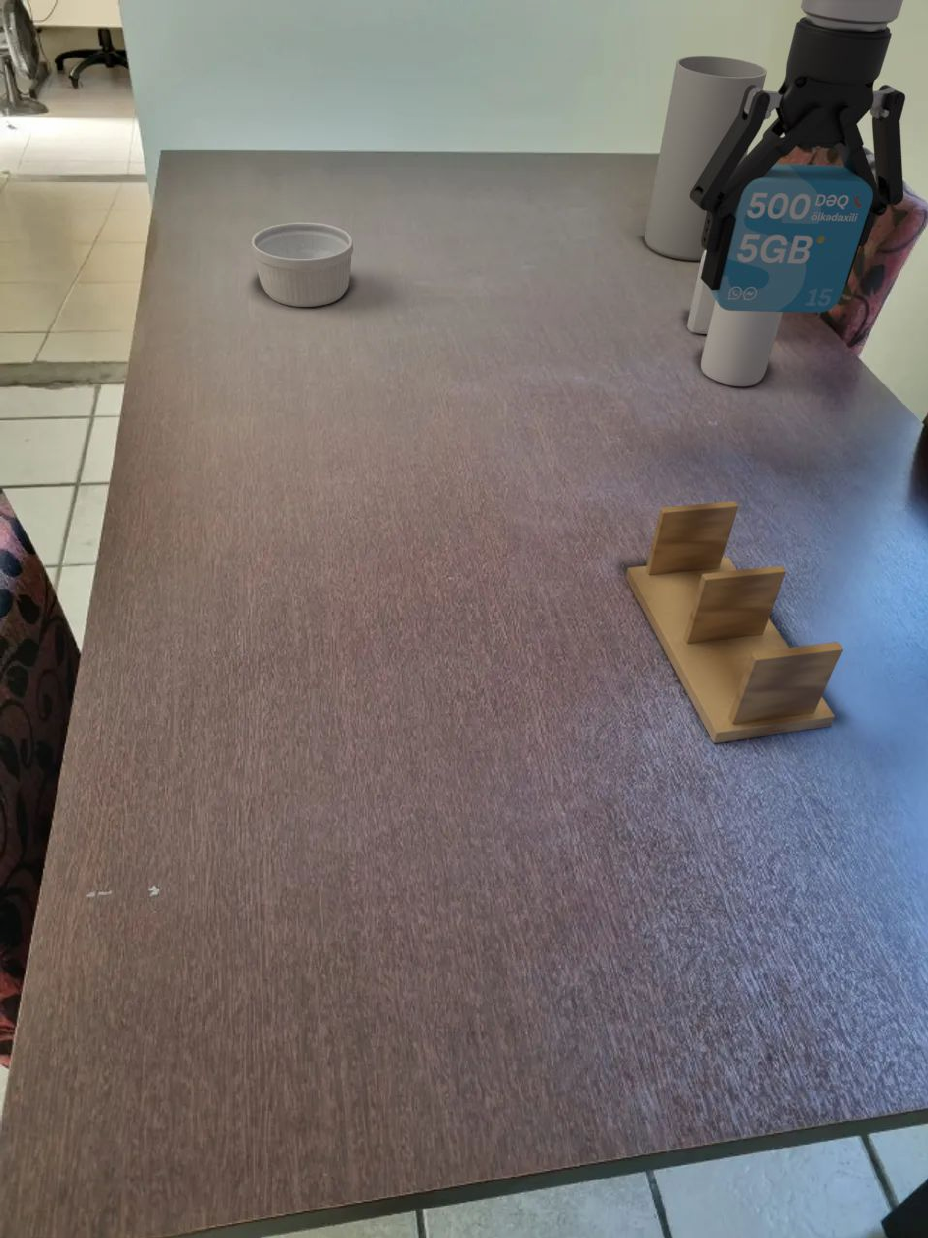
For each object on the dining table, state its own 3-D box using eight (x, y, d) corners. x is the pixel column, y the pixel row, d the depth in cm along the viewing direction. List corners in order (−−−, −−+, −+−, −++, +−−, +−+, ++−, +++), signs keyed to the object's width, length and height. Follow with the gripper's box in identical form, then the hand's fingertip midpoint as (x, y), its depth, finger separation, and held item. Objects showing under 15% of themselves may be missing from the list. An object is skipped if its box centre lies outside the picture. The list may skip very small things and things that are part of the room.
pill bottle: (771, 369, 118) (807, 250, 108) (752, 395, 113) (787, 272, 103) (711, 351, 121) (741, 233, 111) (690, 375, 116) (719, 254, 106)
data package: (713, 311, 89) (745, 177, 81) (702, 291, 92) (731, 161, 84) (836, 314, 90) (879, 182, 82) (820, 294, 93) (860, 165, 85)
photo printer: (687, 334, 124) (708, 241, 116) (684, 320, 128) (705, 228, 119) (765, 342, 124) (792, 248, 116) (760, 327, 127) (786, 235, 119)
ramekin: (238, 300, 125) (232, 248, 120) (283, 265, 134) (279, 215, 129) (329, 319, 122) (327, 266, 117) (369, 281, 131) (368, 231, 127)
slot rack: (725, 567, 88) (747, 495, 83) (830, 726, 74) (866, 652, 68) (625, 577, 86) (641, 504, 81) (713, 743, 72) (740, 668, 66)
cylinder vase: (725, 266, 142) (770, 81, 126) (642, 257, 144) (676, 72, 127) (721, 236, 152) (763, 60, 135) (644, 227, 153) (675, 52, 136)
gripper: (954, 12, 80) (869, 261, 95) (685, 8, 76) (639, 270, 90) (1008, 32, 75) (910, 292, 89) (722, 28, 70) (667, 303, 85)
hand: (773, 281), depth 90 cm, fingers closed on data package, 12 cm apart
